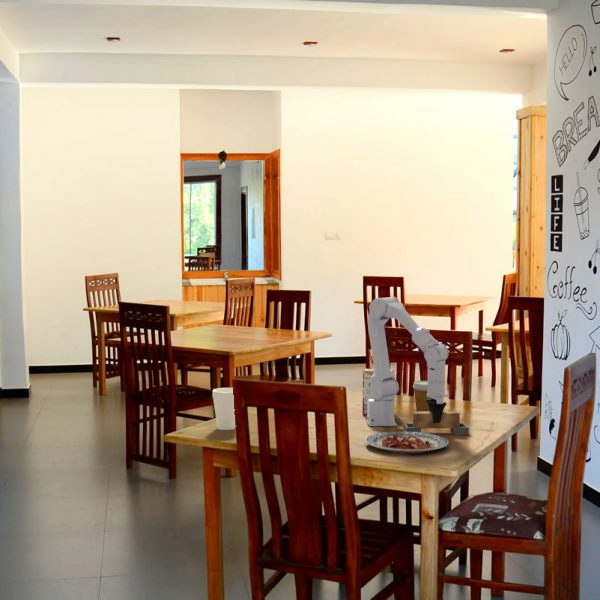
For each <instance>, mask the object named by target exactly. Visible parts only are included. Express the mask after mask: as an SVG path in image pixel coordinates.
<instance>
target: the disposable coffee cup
mask: <svg viewBox="0 0 600 600" xmlns="http://www.w3.org/2000/svg"><path fill="white" fill-rule="evenodd" d="M412 388H413V393H414V400H415V401H414V403H415V410H416V411H415V412H423V411H430V410H429V406H428V403H427V401H426V399H431V398H430V397H427V389H428V380H417V381H414V382H413V385H412Z"/></svg>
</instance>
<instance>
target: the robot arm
mask: <svg viewBox="0 0 600 600" xmlns="http://www.w3.org/2000/svg"><path fill="white" fill-rule="evenodd" d="M368 308H369V314H368V319H367V326H368V327H367V328H368V334H369V336H368V337H369V342H370V348H371V356H372V363H373V369H374V374H373V375H372V377H371V378H370V380H371V385H370V394H371V396H372V397H373V399H368V403H367V415H366V422H367V424H368V426H369V427H398V426H397V425H398V424H397V423H396V421H395V406H396V405H395V399H396V395H397V394H398V393H399V391H400V387H399V386H400V385H399V383H398V381H397V379H396V374H395V372H394V373H393V372H392V371H391V370H392V369H391V367H390V360H389V359H390V358H389V353H388V352H389V351H388V346H387V338H386V331H385V330H386V329H385V325H386V323H387V322H388V321H389V320H390V319H395V320H397V321H398V322H399V323H400V325H402V326H403V327H404V328H405V329H406V330H407V331H408V332H409V333H410V334H411V340H412V342H414V343H415V345H416V346H417V347H418V348H419V349H420V350H421V351H422V352H423V356H424V359H425V361H426V366H427V381H428V389H427V397H430V398H431V399H426V401H427V403H428V406H429V410H430V411H432V416H433V422H434V423H440V422H441V418H442V413H443V411H445V408H446V406H447V402H444V399H445V398H446V397H449V394H448V393H446V360H447V359H448V357H449V353H450V352H449V349H448V347H447V346H446V344H444V343H440V341H439V340H437V339H435V338H434V336H433V335H432V334H431V333H430V330H429V329H428V328H425V327H420V326H419V325H418V323H417V322H416V321H415V320H414V319H413V317H412V316H411V315H410V314H409V313H408V311H407V310H406V309H405V308H404V304H403V303H402V302H401V301H400V300H399V299H398V297H396V296H390V297H377V298H375V299H372V301H371V302H370V304H369V305H368ZM383 379H384V380H383Z"/></svg>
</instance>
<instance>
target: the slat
mask: <svg viewBox="0 0 600 600" xmlns="http://www.w3.org/2000/svg"><path fill="white" fill-rule="evenodd" d="M460 417H461V414H460V412H459V411H458V410H455V411H454V410H448V411H445V410H443V413H442V418H441V422H440V423H434V422H433V416H432V411H423V412H416V411H412V423H413V427H421V430H422V429H450V428H454V427H460V423H461V422H460Z"/></svg>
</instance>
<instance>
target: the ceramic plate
mask: <svg viewBox="0 0 600 600" xmlns="http://www.w3.org/2000/svg"><path fill="white" fill-rule="evenodd" d="M365 443H366V444H368V446H371V447H374V448H378V449H382V450H384V451H387V452H391V451H392V452H391V453H398V452H400V453H401V454H419V452H421V453H426V451H427V452H430V450H431V451H434V450H439V449H442V448H445V447H447V446H448V445H449V440H448V439H447V438H445V437H443V436H440V435H437V434H434V433H428V432H422V431H421V432H408V431H400V430H398V431H386V432H385V431H384V432H383V431H382V432H378V433H374V434H373V433H372V434H371V435H368V436H367V437H366V438H365Z"/></svg>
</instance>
